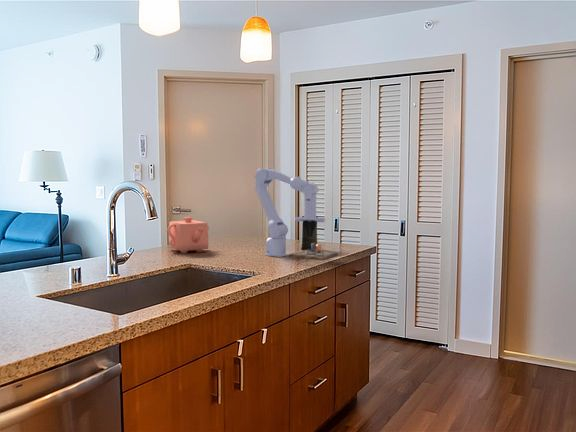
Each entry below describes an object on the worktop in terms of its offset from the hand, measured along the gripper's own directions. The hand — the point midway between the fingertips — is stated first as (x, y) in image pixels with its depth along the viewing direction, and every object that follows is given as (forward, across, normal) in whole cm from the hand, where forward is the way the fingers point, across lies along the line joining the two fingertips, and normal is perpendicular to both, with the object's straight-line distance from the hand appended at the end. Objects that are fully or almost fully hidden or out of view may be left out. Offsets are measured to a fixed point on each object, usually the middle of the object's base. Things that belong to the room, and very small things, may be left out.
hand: (309, 236), depth 248 cm
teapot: (+11, -63, -3) cm, 64 cm away
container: (+11, -8, +26) cm, 29 cm away
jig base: (+10, 0, +7) cm, 13 cm away
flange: (+9, +1, +5) cm, 10 cm away
